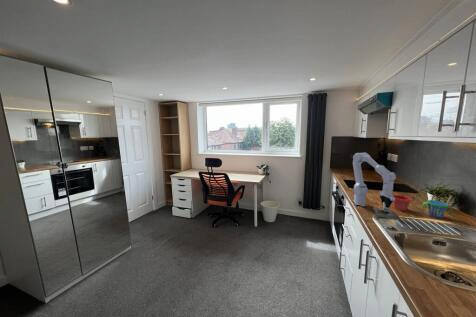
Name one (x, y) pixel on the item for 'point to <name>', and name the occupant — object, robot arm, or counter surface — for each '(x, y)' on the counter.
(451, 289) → the counter surface
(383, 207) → the column
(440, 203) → the snack cup
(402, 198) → the flower pot
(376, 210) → the collar
